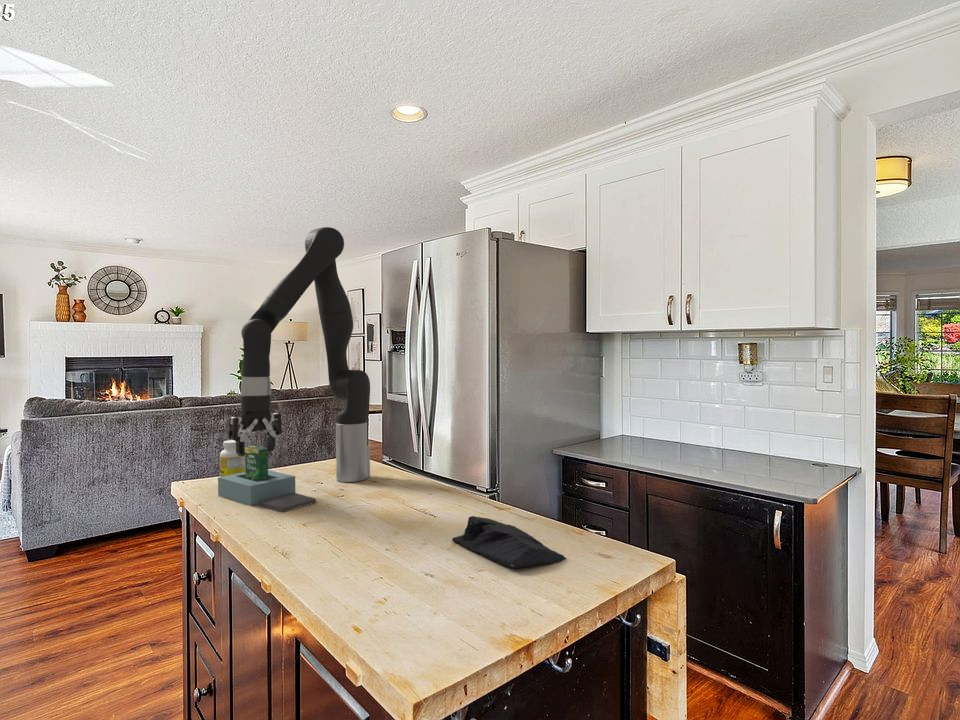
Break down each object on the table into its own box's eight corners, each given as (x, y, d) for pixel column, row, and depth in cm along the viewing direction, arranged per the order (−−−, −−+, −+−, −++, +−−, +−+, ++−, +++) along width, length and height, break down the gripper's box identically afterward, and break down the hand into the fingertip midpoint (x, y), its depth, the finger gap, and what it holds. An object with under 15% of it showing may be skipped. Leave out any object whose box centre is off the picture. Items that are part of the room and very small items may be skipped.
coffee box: (244, 493, 147) (244, 446, 147) (254, 491, 149) (254, 444, 149) (258, 499, 142) (258, 449, 141) (269, 496, 144) (268, 448, 143)
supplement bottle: (220, 483, 158) (219, 440, 158) (244, 481, 161) (244, 438, 161) (220, 488, 152) (219, 443, 152) (245, 486, 155) (244, 442, 154)
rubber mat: (292, 496, 144) (292, 492, 144) (316, 502, 138) (316, 498, 138) (258, 505, 136) (258, 501, 136) (281, 512, 130) (281, 508, 130)
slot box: (262, 485, 155) (262, 468, 155) (295, 494, 146) (295, 476, 146) (218, 495, 145) (217, 477, 145) (250, 505, 135) (250, 486, 135)
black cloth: (503, 580, 93) (503, 553, 92) (447, 541, 112) (447, 518, 112) (572, 562, 100) (572, 537, 100) (509, 528, 119) (509, 507, 119)
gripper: (271, 391, 152) (271, 448, 153) (223, 394, 141) (223, 455, 141) (287, 392, 148) (287, 451, 148) (238, 395, 136) (238, 459, 137)
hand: (256, 453), depth 145 cm, fingers open, 8 cm apart
